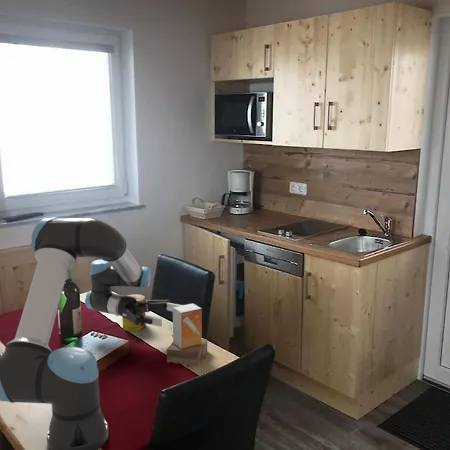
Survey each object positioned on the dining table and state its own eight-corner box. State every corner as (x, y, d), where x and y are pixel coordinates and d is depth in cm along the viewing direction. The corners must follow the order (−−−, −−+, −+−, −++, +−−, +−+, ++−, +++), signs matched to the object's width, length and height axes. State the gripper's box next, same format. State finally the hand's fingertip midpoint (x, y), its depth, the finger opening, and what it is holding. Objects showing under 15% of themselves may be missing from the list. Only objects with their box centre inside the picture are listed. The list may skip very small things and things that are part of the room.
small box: (181, 349, 173) (180, 312, 171) (172, 343, 179) (172, 307, 176) (202, 344, 178) (202, 308, 175) (193, 338, 183) (192, 302, 181)
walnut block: (198, 366, 172) (198, 352, 171) (167, 363, 175) (166, 349, 174) (207, 352, 183) (207, 339, 182) (177, 349, 185) (177, 336, 184)
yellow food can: (140, 332, 199) (139, 302, 197) (118, 330, 201) (117, 300, 199) (149, 323, 208) (148, 295, 205) (128, 321, 210) (127, 293, 207)
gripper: (143, 304, 200) (190, 314, 191) (100, 327, 179) (151, 339, 169) (143, 286, 199) (190, 294, 189) (99, 307, 177) (151, 317, 168)
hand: (172, 315), depth 179 cm, fingers open, 13 cm apart
